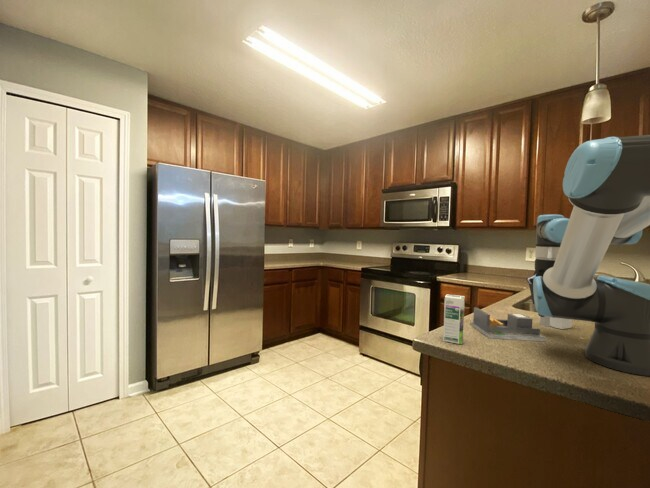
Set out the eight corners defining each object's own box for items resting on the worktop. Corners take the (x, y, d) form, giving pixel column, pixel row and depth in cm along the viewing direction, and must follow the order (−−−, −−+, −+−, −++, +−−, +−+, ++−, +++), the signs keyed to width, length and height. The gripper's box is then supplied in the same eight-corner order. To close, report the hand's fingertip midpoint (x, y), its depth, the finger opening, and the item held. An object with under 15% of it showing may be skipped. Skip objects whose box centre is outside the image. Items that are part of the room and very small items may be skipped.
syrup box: (442, 341, 93) (444, 296, 92) (444, 336, 98) (446, 293, 97) (462, 345, 90) (464, 298, 90) (463, 339, 95) (465, 295, 95)
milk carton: (540, 324, 115) (543, 276, 114) (551, 322, 118) (553, 275, 117) (561, 329, 109) (564, 279, 108) (572, 327, 112) (575, 278, 111)
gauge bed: (546, 341, 96) (547, 319, 95) (488, 338, 97) (489, 316, 97) (519, 326, 111) (520, 308, 110) (470, 324, 112) (471, 305, 112)
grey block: (531, 331, 100) (532, 318, 100) (516, 330, 101) (517, 317, 100) (521, 326, 106) (522, 313, 106) (507, 325, 107) (507, 313, 106)
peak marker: (504, 334, 97) (504, 323, 97) (499, 333, 97) (499, 323, 97) (489, 325, 107) (490, 315, 106) (485, 324, 107) (485, 315, 107)
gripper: (559, 258, 105) (556, 323, 106) (522, 257, 106) (519, 321, 107) (576, 260, 98) (572, 330, 98) (535, 259, 98) (532, 328, 99)
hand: (544, 325), depth 102 cm, fingers closed
